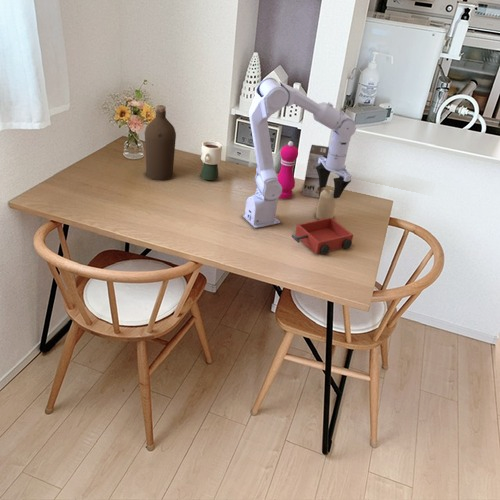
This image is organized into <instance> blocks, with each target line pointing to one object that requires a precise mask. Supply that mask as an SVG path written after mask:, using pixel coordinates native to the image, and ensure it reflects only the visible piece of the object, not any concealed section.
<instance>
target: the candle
mask: <svg viewBox="0 0 500 500" xmlns="http://www.w3.org/2000/svg"><path fill="white" fill-rule="evenodd" d="M333 195H334V190H332V189H331V188H325V189H323V190H321V191H320V195H319V198H318V204H317V208H316V213H315V217H316V219H317V220H321V219H326V218H332V219H334V218H333V217H334V213H335V208H336V203H337V199H338V198H334V196H333Z"/></svg>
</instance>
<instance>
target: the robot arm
mask: <svg viewBox="0 0 500 500" xmlns="http://www.w3.org/2000/svg"><path fill="white" fill-rule="evenodd" d="M292 105H295V106H298V107H300V108H301V109H303V110H305V111H307V112H309V113H310V114H312V117H313V119H314V121H316V122H317V123H319V124H321V125H322V126H324V127H327V128H328V129H330V130H332V132H331V137H330V141H329V146H328V147H329V151H328V156H327V159H326V158H324V157H320V158H319V159H318V164H320V165H319V166H316V170H317V173H318V177H319V187H320V188H321V189H324V188H326V187H327V184H328V181H329V177H330V176H331V173H334V174H335V175H337V176H338V177H334V178H333V179H332V180H333V184H334V185H333V186H334V189H333V191H334V195H333V196H334V198H337V199H340V198H341V196H342V194H343V192H344V191H345V189H346V188H347V186H348V185H349V184H350V183H351V182H352V176H353V175H352V174H351V173H349V171H348V170H347V165H346V160H347V155H348V150H349V145H350V141H351V138H352V136H353V135H354V134H355V133H356V131H357V127H356V123H355V120H354V119H353V118H352V117H350V116H349V115H348V114H347V113H345V112H344V110H338V109H337V108H335V107H334V104H333V103H331V102H326V101H325V102H320V103H319V102H318V103H317V101H314V100H313V99H311V98H310V97H308V96H307V95H305V94H304V93H302V92H301V91H299V90H297V89H296V88H294V87H293V86H290V85H288V84H287V83H285V82H282V81H281V80H280V81H278V80H277V79H275V78H273V77H265V78H264V79H262V80H261V81H260V82H259V83H258V85H257V86H256V87H255V88H254V96H253V97H252V102H251V104H250V107H249V110H248V116H249V118H248V119H249V123H250V131H251V136H252V142H253V148H254V154H255V161H256V168H255V171H256V173H255V177H254V183H255V185H256V186H257V187H256V190H255V193H254V194H253V195H251V196H248V197H247V198H246V201H245V209H244V210H245V211H244V214H243V215H242V217H243V218H244V219H245V220H246V221H247V222H248V223H249V224H250V225H251V226H253V228H254V229H258V228H263V227H268V226H273V225H278V224H280V223H281V221H280V220H279V219H278V218H277V217H276V214H277V208H278V202H279V201H278V200H279V198H278V197H279V196H280V195H281V193H282V186H281V185H280V183H279V182H278V178H277V175H278V174H277V171H276V169H275V164H274V157H273V156H274V155H273V150H272V149H273V148H272V142H271V135H270V128H269V122H268V120H269V118H270V117H271V116H272V115H274V114H275V113H278V111H280V110H282V109H283V108H284V107H285V106H286V107H287V108H288V107H291V106H292Z"/></svg>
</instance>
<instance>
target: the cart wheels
mask: <svg viewBox="0 0 500 500" xmlns="http://www.w3.org/2000/svg"><path fill="white" fill-rule="evenodd" d="M291 238H292V239H293V240H294V241H295V242H297V243H298V244H299V243H300V242H301V240H300V239H303V238H308V235H304V236H300V237H296V236H295V234H291ZM352 244H353V241H352V242H351V241H350V240H349V239H347V240H345V241H344V242H343V244H342V247H343V249H344V250H349V248H351V246H352ZM329 250H330V247H329V246H328V245H326V244H325V245H323V246H322V247H321V249H320V252H321V253H320V254H322V255H327V254H328V253H329V252H330V251H329Z"/></svg>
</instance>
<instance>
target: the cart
mask: <svg viewBox="0 0 500 500" xmlns="http://www.w3.org/2000/svg"><path fill="white" fill-rule="evenodd" d="M304 235H308V238H303V239H299V240H300V242H302V243H303V244H304V245H305V246H306V247H308V248H309V249H310V250H311V251H312V252H313V253H314V254H316V255H318V254H322V253H321V252H320V249H321V247H322V246H323V245H325V244H326V245H328V246H329V247H330V250H329V252H331V251H334V250H338V249H342V248H343V247H342V244H343V242H344V241H345V240H347V239H349V240H350V241H351V242H352V243H353V239H354V238H353V237H354V234H353V233H352V232H351V231H350V230H348V229H347V228H346V227H345V226H343V225H342V224H340V223H339V222H337V221H336V220H335V219H334V218H326V219H321V220H319V219H316V220H312V221H307V222H303V223H298V224H296V230H295V234H294V236H295V237H300V236H304ZM343 249H344V248H343Z"/></svg>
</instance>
